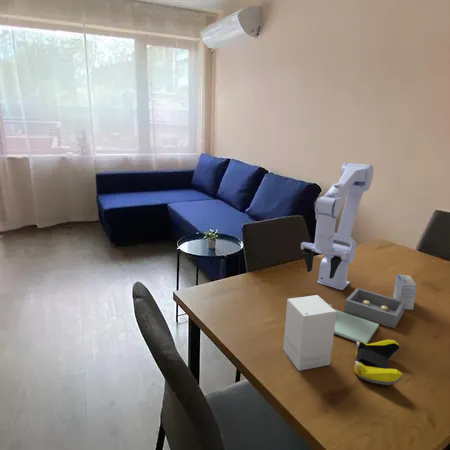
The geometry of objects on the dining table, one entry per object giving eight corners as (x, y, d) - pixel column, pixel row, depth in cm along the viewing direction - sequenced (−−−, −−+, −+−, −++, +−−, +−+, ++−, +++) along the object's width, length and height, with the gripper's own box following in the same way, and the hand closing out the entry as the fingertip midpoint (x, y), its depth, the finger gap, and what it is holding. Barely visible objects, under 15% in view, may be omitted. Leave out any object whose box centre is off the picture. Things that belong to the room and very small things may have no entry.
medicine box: (413, 310, 117) (417, 286, 114) (398, 308, 118) (402, 284, 115) (406, 299, 124) (410, 275, 122) (392, 297, 125) (396, 274, 122)
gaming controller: (396, 357, 94) (355, 347, 97) (399, 338, 92) (358, 329, 96) (399, 397, 81) (352, 384, 84) (403, 376, 79) (355, 364, 82)
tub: (344, 311, 115) (345, 300, 114) (355, 298, 123) (357, 287, 122) (394, 328, 106) (396, 316, 105) (403, 313, 115) (405, 301, 114)
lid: (311, 327, 107) (312, 313, 105) (326, 311, 116) (328, 298, 114) (365, 347, 98) (368, 332, 96) (377, 329, 107) (380, 315, 105)
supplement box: (331, 365, 90) (338, 311, 86) (298, 372, 87) (304, 316, 83) (312, 344, 98) (318, 293, 94) (282, 349, 96) (286, 297, 91)
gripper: (298, 232, 116) (294, 272, 120) (342, 243, 108) (337, 284, 112) (307, 227, 121) (303, 265, 125) (351, 237, 113) (345, 277, 117)
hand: (320, 274), depth 119 cm, fingers open, 7 cm apart
